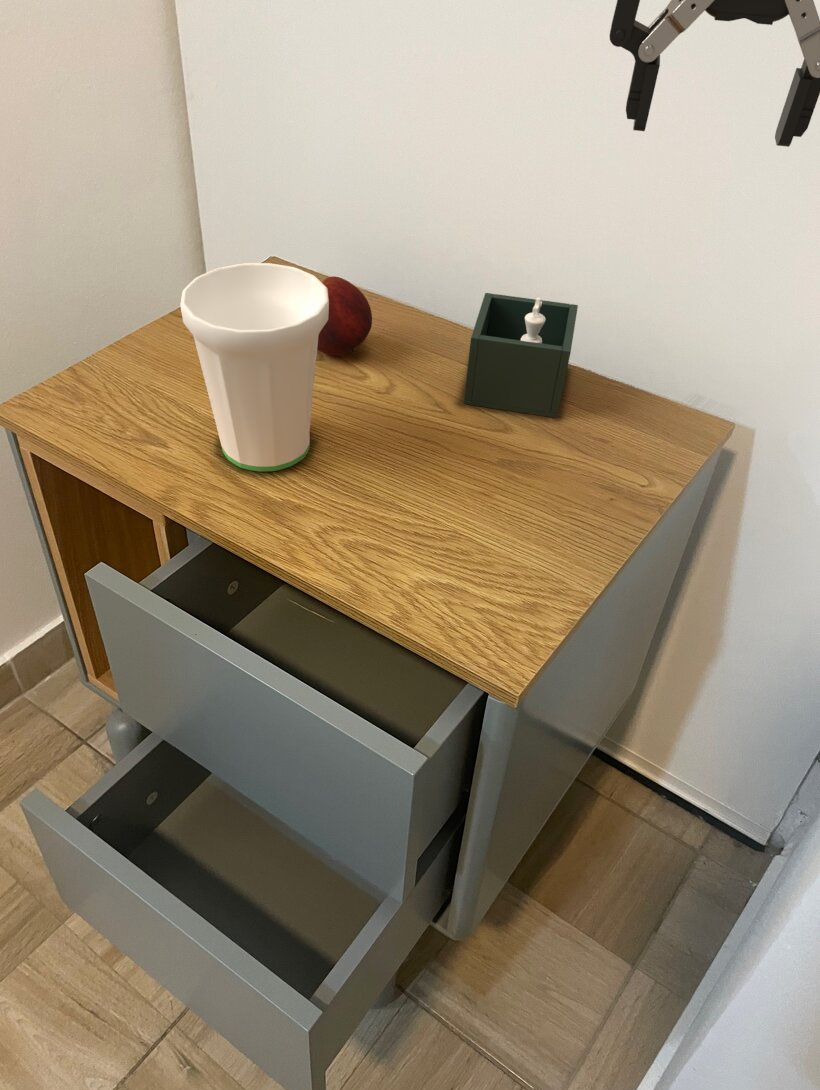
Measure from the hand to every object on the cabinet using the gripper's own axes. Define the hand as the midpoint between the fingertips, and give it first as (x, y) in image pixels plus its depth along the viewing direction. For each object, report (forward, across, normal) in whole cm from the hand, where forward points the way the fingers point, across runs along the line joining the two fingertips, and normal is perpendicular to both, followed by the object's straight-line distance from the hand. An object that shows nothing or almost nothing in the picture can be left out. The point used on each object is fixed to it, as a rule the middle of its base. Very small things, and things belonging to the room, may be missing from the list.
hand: (709, 134), depth 54 cm
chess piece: (+32, -9, +20) cm, 39 cm away
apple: (+32, -30, +23) cm, 50 cm away
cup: (+32, -32, +4) cm, 46 cm away
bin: (+32, -10, +21) cm, 40 cm away
